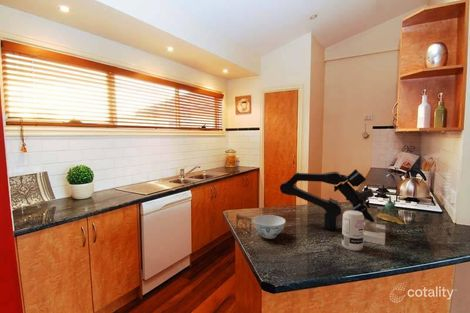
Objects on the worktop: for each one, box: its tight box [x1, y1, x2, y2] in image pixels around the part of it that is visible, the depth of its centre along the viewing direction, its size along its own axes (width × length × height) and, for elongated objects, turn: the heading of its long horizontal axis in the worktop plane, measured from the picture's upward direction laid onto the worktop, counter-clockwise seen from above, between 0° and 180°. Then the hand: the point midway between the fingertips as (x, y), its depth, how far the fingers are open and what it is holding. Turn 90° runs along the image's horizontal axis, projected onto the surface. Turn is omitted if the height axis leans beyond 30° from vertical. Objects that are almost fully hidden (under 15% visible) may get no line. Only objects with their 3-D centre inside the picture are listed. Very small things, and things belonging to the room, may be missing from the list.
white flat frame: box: [363, 221, 386, 246], centre depth 119 cm, size 12×18×3 cm, turn 149°
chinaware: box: [253, 214, 286, 240], centre depth 118 cm, size 15×15×8 cm
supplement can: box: [341, 209, 365, 251], centre depth 106 cm, size 8×8×15 cm
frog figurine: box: [377, 195, 405, 225], centre depth 140 cm, size 10×18×15 cm, turn 23°
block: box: [364, 207, 378, 233], centre depth 118 cm, size 4×4×12 cm
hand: (374, 218), depth 118 cm, fingers open, 9 cm apart
